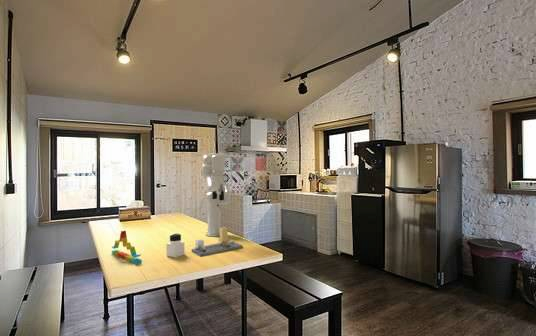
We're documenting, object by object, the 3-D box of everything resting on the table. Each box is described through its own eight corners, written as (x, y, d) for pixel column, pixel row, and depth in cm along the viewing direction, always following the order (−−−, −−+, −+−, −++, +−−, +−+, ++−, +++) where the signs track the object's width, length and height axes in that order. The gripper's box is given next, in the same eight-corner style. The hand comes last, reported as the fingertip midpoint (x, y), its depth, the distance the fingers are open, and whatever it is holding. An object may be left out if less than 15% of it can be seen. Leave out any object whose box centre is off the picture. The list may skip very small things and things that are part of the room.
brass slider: (218, 243, 189) (218, 227, 189) (225, 242, 192) (225, 226, 192) (225, 246, 182) (224, 229, 182) (232, 245, 185) (232, 228, 185)
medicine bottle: (184, 254, 173) (184, 233, 173) (175, 257, 167) (174, 236, 167) (176, 252, 177) (175, 232, 177) (166, 256, 170) (166, 234, 170)
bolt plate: (191, 251, 178) (191, 240, 178) (232, 243, 195) (232, 233, 195) (200, 256, 169) (200, 244, 169) (242, 247, 186) (242, 237, 186)
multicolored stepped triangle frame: (142, 263, 159) (141, 234, 159) (136, 264, 157) (135, 235, 157) (117, 252, 179) (117, 227, 179) (111, 254, 177) (111, 228, 177)
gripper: (206, 173, 205) (207, 199, 205) (218, 174, 191) (219, 201, 191) (216, 173, 209) (217, 198, 209) (229, 173, 195) (229, 200, 195)
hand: (218, 199), depth 200 cm, fingers open, 9 cm apart
